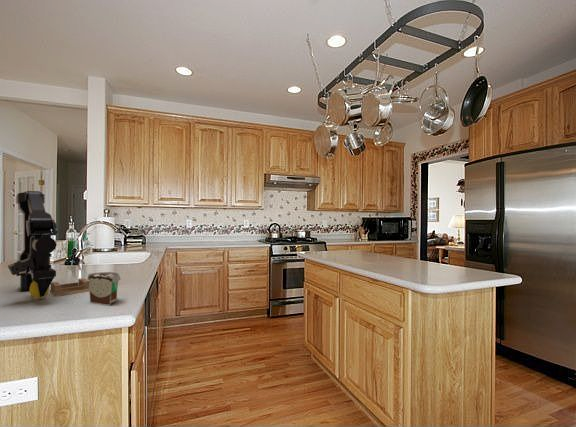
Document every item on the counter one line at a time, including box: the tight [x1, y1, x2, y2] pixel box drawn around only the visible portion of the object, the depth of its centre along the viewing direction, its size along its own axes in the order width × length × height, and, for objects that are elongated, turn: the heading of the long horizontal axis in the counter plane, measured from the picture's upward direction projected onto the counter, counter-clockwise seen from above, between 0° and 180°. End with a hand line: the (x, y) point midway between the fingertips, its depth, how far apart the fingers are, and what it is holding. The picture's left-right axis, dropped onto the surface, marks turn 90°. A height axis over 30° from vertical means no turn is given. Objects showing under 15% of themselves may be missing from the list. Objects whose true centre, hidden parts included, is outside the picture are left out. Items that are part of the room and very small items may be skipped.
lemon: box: [29, 281, 50, 300], centre depth 108 cm, size 6×6×8 cm
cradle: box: [48, 277, 89, 297], centre depth 119 cm, size 9×12×4 cm
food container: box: [86, 271, 121, 306], centre depth 107 cm, size 12×6×10 cm, turn 71°
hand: (39, 294), depth 108 cm, fingers open, 8 cm apart
